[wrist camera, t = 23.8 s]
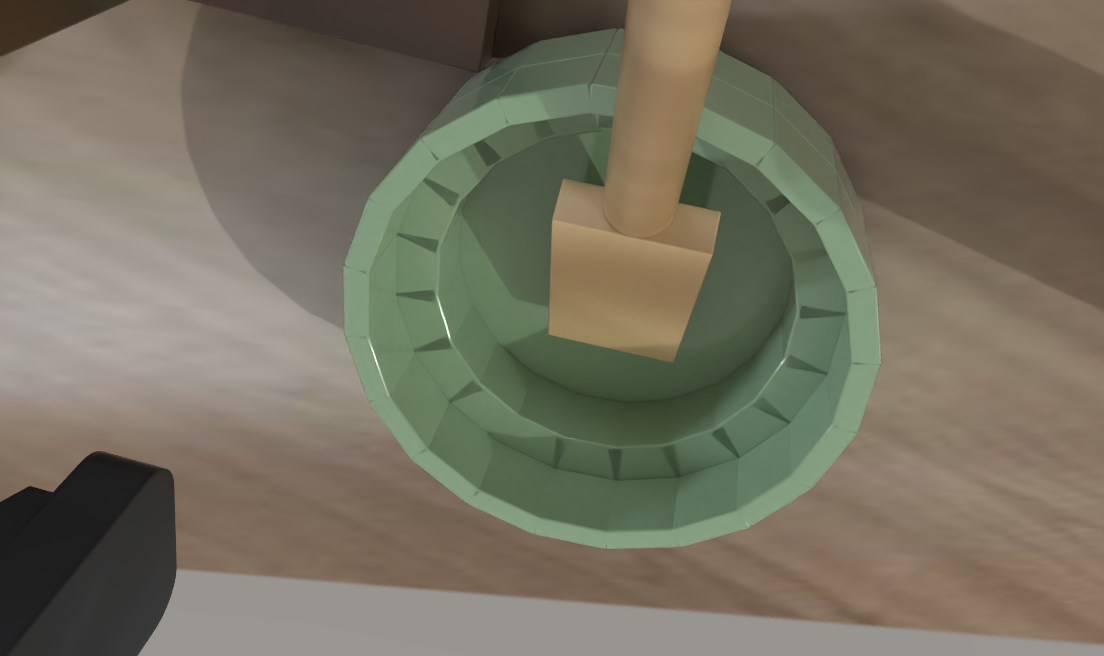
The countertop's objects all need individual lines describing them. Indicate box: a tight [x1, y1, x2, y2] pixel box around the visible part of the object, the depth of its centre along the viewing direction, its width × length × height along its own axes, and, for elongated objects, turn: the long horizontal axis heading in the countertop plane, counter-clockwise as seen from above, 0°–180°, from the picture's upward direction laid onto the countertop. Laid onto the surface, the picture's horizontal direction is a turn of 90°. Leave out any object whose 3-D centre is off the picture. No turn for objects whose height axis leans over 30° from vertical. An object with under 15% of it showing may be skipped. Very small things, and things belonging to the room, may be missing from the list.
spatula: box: [548, 0, 732, 362], centre depth 24 cm, size 22×4×2 cm
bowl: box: [343, 28, 881, 549], centre depth 31 cm, size 16×16×6 cm
